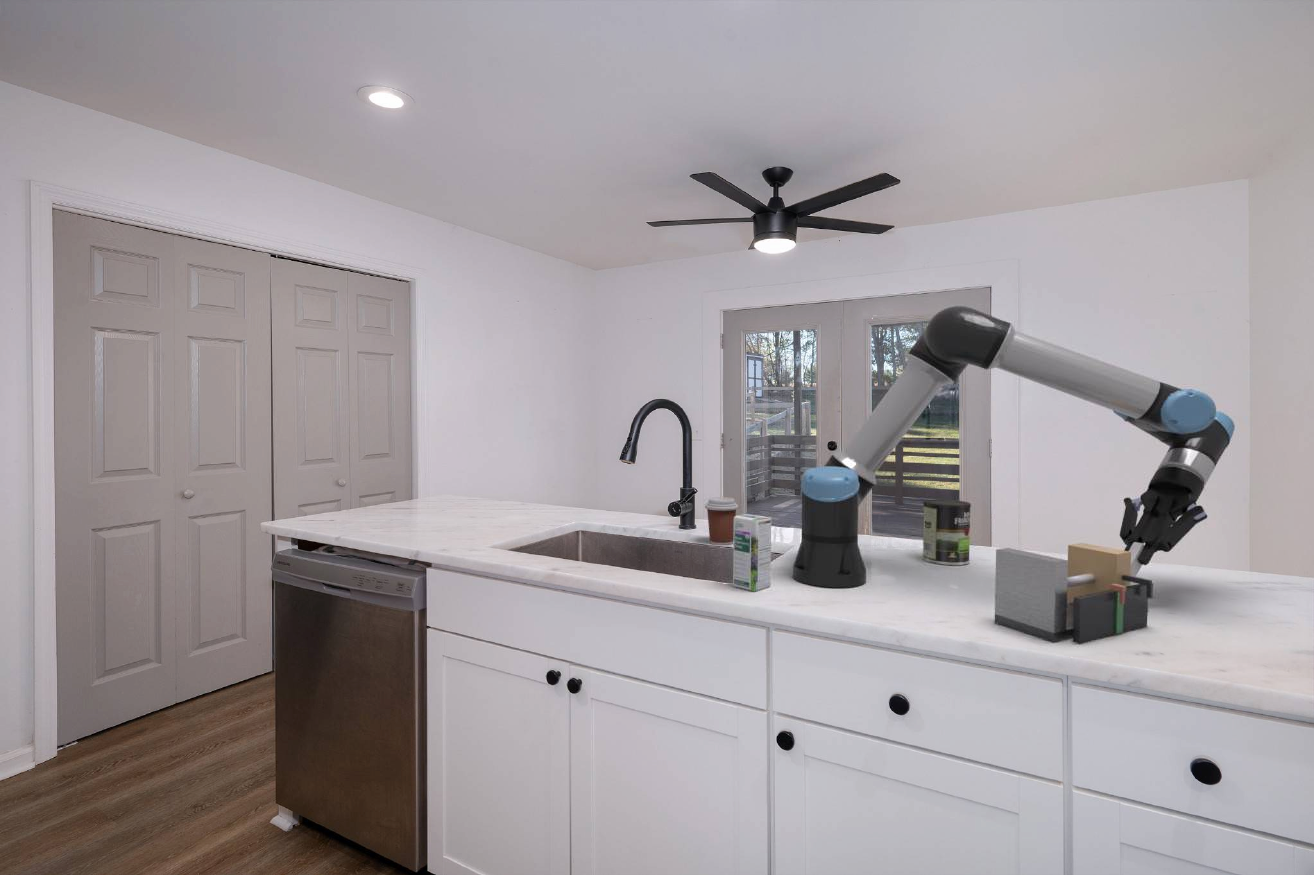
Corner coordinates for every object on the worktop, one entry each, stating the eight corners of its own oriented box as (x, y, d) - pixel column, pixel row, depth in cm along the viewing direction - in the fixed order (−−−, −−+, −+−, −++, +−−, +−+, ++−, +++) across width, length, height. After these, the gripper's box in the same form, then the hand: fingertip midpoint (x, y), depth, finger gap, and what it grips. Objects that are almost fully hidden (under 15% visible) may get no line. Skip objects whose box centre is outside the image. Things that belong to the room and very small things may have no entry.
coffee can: (978, 561, 148) (979, 502, 147) (955, 568, 142) (956, 506, 141) (936, 553, 156) (937, 497, 155) (913, 559, 150) (914, 501, 149)
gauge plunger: (1080, 597, 113) (1082, 543, 112) (1157, 617, 102) (1159, 557, 101) (1045, 604, 109) (1046, 548, 108) (1121, 626, 98) (1123, 563, 97)
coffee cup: (729, 547, 163) (729, 502, 163) (698, 544, 168) (698, 499, 168) (743, 541, 171) (743, 498, 170) (713, 538, 176) (714, 495, 175)
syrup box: (731, 586, 127) (732, 516, 126) (749, 581, 131) (749, 512, 130) (754, 592, 123) (754, 519, 122) (772, 586, 127) (772, 516, 126)
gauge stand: (1076, 605, 114) (1077, 538, 114) (1152, 626, 103) (1154, 551, 102) (994, 622, 105) (996, 549, 104) (1069, 647, 94) (1071, 565, 93)
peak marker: (1114, 600, 99) (1114, 583, 99) (1125, 603, 98) (1126, 586, 98) (1110, 601, 99) (1110, 584, 99) (1121, 604, 97) (1122, 587, 97)
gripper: (1230, 495, 113) (1176, 597, 107) (1149, 487, 125) (1096, 579, 119) (1215, 467, 111) (1159, 570, 104) (1134, 462, 122) (1079, 554, 116)
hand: (1125, 575), depth 111 cm, fingers closed
